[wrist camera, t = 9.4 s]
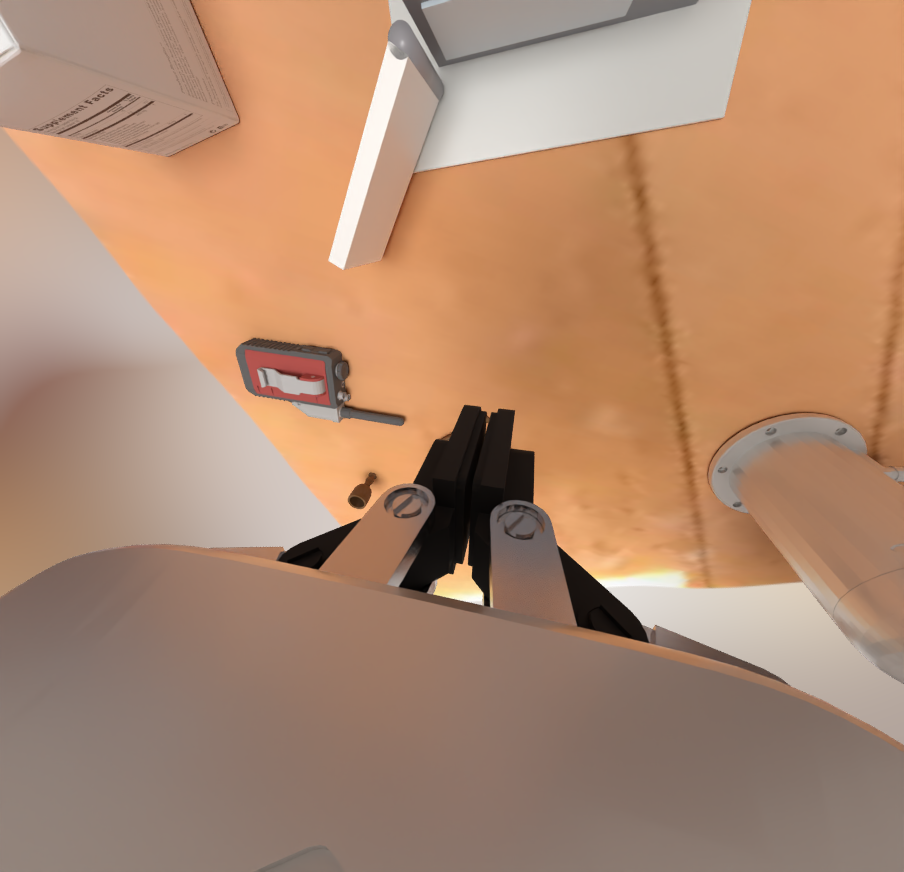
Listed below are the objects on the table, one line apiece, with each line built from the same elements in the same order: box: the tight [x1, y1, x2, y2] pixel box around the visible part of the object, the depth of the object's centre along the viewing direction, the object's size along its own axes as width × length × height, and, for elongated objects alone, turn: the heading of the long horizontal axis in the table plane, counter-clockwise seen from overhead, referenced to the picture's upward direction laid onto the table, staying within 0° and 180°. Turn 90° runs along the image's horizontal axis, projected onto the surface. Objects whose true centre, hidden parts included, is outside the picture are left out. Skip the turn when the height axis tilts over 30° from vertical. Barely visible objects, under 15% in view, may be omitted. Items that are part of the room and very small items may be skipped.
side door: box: [329, 20, 444, 270], centre depth 23 cm, size 13×1×8 cm, turn 151°
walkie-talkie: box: [236, 338, 404, 426], centre depth 38 cm, size 9×4×20 cm
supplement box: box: [0, 0, 239, 157], centre depth 20 cm, size 9×9×15 cm
